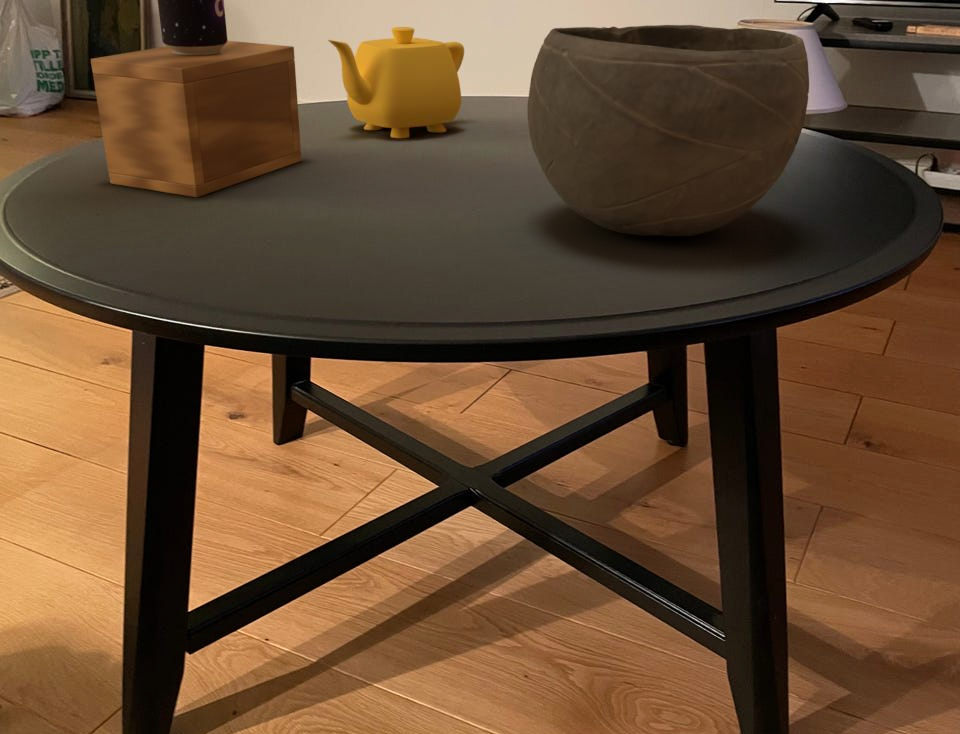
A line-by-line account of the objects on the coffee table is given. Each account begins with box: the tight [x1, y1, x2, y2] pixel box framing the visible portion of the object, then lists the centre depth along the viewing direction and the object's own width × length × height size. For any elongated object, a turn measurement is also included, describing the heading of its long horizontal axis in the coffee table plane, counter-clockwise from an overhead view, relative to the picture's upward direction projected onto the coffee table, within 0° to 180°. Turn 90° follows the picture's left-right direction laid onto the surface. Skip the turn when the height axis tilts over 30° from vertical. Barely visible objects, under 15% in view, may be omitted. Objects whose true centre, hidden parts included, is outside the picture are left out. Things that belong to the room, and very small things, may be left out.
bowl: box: [527, 24, 810, 237], centre depth 81 cm, size 21×21×15 cm
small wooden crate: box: [90, 40, 302, 198], centre depth 95 cm, size 10×16×11 cm, turn 154°
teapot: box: [327, 26, 465, 139], centre depth 114 cm, size 18×11×11 cm, turn 130°
